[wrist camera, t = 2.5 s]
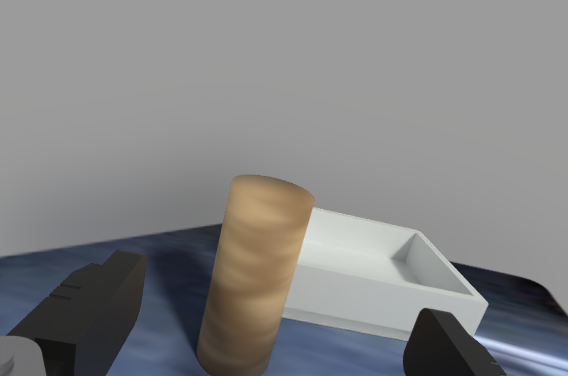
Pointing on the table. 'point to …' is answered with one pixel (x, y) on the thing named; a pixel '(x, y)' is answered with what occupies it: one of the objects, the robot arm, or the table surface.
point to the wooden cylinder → (252, 274)
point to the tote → (375, 278)
